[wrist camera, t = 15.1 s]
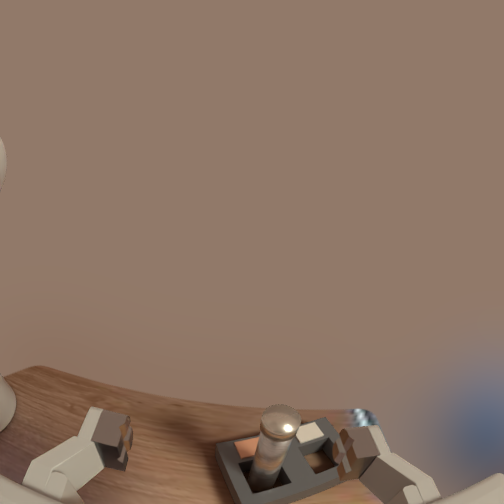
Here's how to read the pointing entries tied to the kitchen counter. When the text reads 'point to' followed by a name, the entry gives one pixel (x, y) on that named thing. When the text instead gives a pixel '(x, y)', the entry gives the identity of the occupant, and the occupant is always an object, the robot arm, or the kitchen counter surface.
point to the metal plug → (272, 445)
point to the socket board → (293, 468)
